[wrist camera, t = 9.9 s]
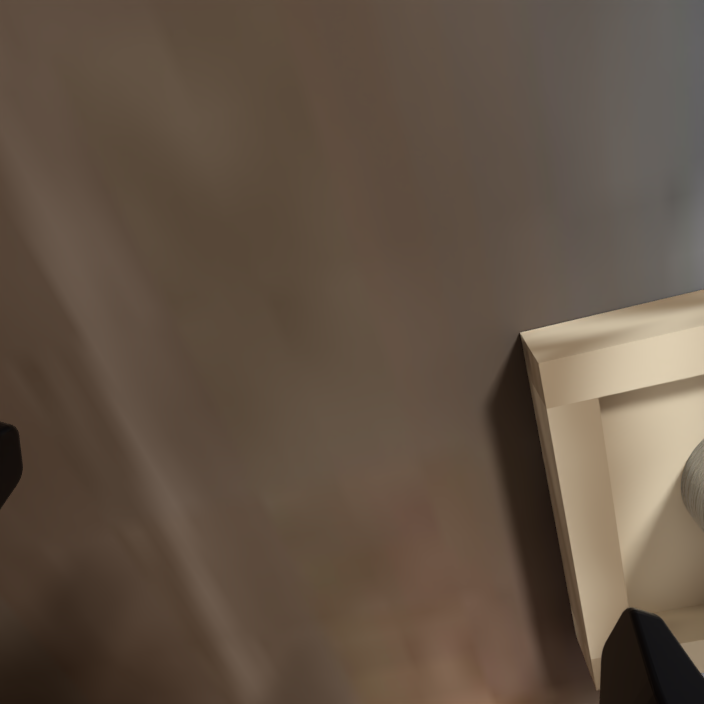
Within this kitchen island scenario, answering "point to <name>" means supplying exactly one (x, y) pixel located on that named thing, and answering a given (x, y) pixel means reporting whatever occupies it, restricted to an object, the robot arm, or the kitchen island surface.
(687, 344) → the shallow square beige tray
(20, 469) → the robot arm
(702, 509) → the lidded storage canister
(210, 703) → the kitchen island surface
